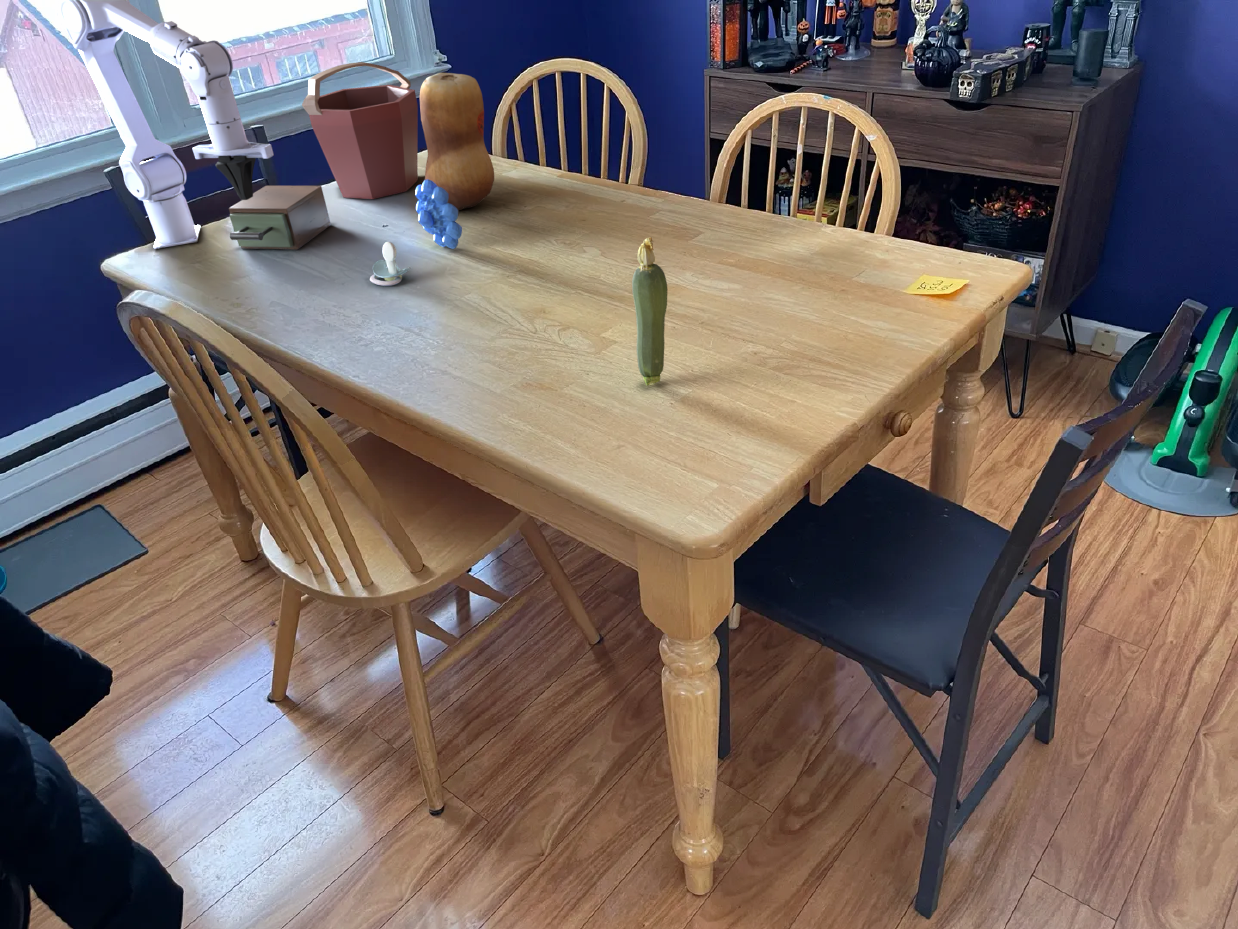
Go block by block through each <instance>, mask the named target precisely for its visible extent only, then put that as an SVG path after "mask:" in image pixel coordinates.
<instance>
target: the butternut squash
mask: <svg viewBox="0 0 1238 929" xmlns="http://www.w3.org/2000/svg"><path fill="white" fill-rule="evenodd" d="M419 108H420V122H421V125H422V129H423V130H422V131H423V134H424V135H423V136H424V141H425V144H426V145H425V146H426V150H427V156H426V163H425V169H424V170H425V171H424V180H427V179H428V180H431V181H433V182H434V183H435V184H436V185H437V186H438V187H441V188H443V189H444V190H446V191H447V193H448V197H449V198H448V202H447V203H449V204H452V205H453V206H455V207H456V208H457V209H458V211H461V210H463V209H471V208H473V207H476V206H478V205H479V204H480V203H481V202H482V201H483V200H484V199H486V198H487V197H488V196H489V195H490V194H491V192H492V189H493V186H494V183H495V169H494V165H493V162H492V159H491V157H490V154H489V151H487V147H486V144H485V139H484V135H485V134H484V132H485V130H484V129H485V108H484V99H483V93H482V90H481V88H480V85H479V83H478V81H477V79H476V78H475V77H472V76H471V75H468V74H464V73H453V72H437V73H436V74H433V75H430V76H427V77H426V78H425V79H424V80H423V82H422V84H421V86H420V90H419Z"/></svg>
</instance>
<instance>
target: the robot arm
mask: <svg viewBox="0 0 1238 929" xmlns="http://www.w3.org/2000/svg"><path fill="white" fill-rule="evenodd" d="M57 16H58V18H59V20H60V22H61V25H62V26H63V28H64V30H65V32H66V34H67V36H68V38H69V41H70V42H71V44H72V47H73V48H74V49H75V50H76V51H78V52H79V54H80V57H81V58H82V61H83V62H84V65H85V66H86V68H87V70H88V73H89V74H90V76H91V79H92V80H93V83H94V84H95V87H96V88H97V90H98V94H99V95H100V97H101V99H102V101H103V103H104V105H105V107H106V109H107V111H108V113H109V115H110V117H111V119H112V122H113V123H114V125H115V127H116V129H117V131H118V133H119V136H120V138H121V140H122V142H123V143H124V146H125V149H124V151H123V153H122V155H121V157H120V159H119V161H118V165H119V167H120V169H121V171H122V175H123V180H124V184H125V187H126V188H127V189H128V192H130V194H132V195H133V196H134V197H135V198H136V199H137V200H139V201H142V202H143V206H144V209H145V211H146V214H147V216H148V219H149V222H150V225H151V227H152V230H153V232H154V235H155V241H154V244H153V249H155V250H157V249H163V248H168V247H169V248H170V247H175V246H181V245H186V244H193V243H197V242H198V241H199V240H198V239H199V235H200V231H201V228H202V227H201V225H200V224H197V225H195V223H194V220H193V217H192V213H191V211H190V210H191V209H190V208H189V205H188V202H187V199H186V197H185V196H184V194H183V192H184V191H185V189H186V188H185V186H184V185H185V184H186V182H187V171H186V168H185V166H184V164H183V163H182V162H181V160H180V159H179V158H178V157H177V155H176V154H175V152H174V150H173V148H172V146H171V145H169V144H167V143H164V142H163V141H160V140H158V139H156V137H155V136H154V134H153V132H152V130H151V127H150V126H149V123H148V120H147V118H146V117H145V114H144V113H143V110H142V109H141V106H140V104H139V101H138V100H137V97H136V96H135V94H134V92H133V89H132V87H131V85H130V84H129V81H128V80H127V77H126V74H125V73H124V70H123V69H122V66H121V64H120V62H119V59H118V58H117V56H116V54H115V51H114V50H115V46H116V42H118V40H119V41H120V38H121V37H122V36H123V34H124V33H125V32H128V34H131V35H133V36H135V37H137V38H139V39H141V40H142V41H145V42H148V44H150V48H151V50H152V52H153V53H154V54H155V55H157V56H158V57H160V58H162V59H164V60H165V61H167V62H169V64H172V65H173V66H176V67H177V68H179V69H180V72H181V73H182V75H183V76H184V78H185V79H186V80H187V82H188V83H189V85H190V87H191V91H192V93H194V95H195V96H197V99H198V102H199V105H200V108H201V112H202V115H203V118H204V121H205V124H206V128H207V130H208V134H209V137H210V140H211V143H210V144H209V143H208V144H198V145H196V146H194V147H192V152H193V156H194V158H195V160H203V159H218V160H217V162H216V163H215V167H216V169H217V170H218V171H219V172H220V173H221V174H222V175H223V176H224V177H225V178H226V179H227V181H228V182H229V183H230V185H231V187H233V189H234V191H235V193H236V194H237V196H238V197H239V199H240V201H242V200H248V199H250V198H251V197H253V193H254V191H253V177H254V176H253V174H254V168H255V163H256V161H257V158H258V159H259V158H262V159H263V160H264V159H267V160H268V159H270V158H272V157H273V156H275V155H274V151H273V147H272V144H270V143H259V142H251V141H249V140H248V138H247V135H246V131H245V127H244V125H243V121H242V117H241V114H240V111H239V108H238V104H237V100H236V97H235V94H234V90H233V87H232V84H231V79H230V76H231V75H232V73H233V70H234V63H233V59H232V56H231V54H230V53H229V51H228V50H227V48H226V47H225V46H224V45H223V44H221V43H220V42H219V41H218V40H209V41H206V40H204V41H203V40H201V39H200V38H199V37H198V36H196V35H192V34H190V32H187V31H185V30H183V29H182V28H180V27H179V26H178V24H177V22H175V21H172V20H171V21H163V22H160V23H159V22H157V21H155V20H154V19H153V18H151V17H150V16H149V15H147V14H146V13H144V12H143V11H141V10H140V9H139V8H137V7H135V6H134V5H133V4H131V1H130V0H59V1H58V10H57ZM152 157H153V158H152ZM149 158H151V159H149ZM146 159H149V160H146ZM144 160H146V161H144Z"/></svg>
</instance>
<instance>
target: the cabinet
mask: <svg viewBox="0 0 1238 929" xmlns="http://www.w3.org/2000/svg"><path fill="white" fill-rule="evenodd" d="M323 191H324V190H323V187H322V185H265V186H263V187H262V188H260V189H258V190H256V191H254V192H253V197H251V198H250V199H248V200H240V201H238V202H237V203H235V204H233V205H232V206H230V207H229V208H228V211H229V215H231V214H232V213H241V212H249V213H284V214H285V216H286V219H287V223H288V227H289V230H290V234H291V237H292V241H293V244H294V245H293V246H291V247H252V246H240V249H247V250H249V249H250V250H251V249H254V250H255V249H257V250H299V249H301V248H302V247H303V246H305V245H306V244H307V243H309V242H310V241H311V240H313V239H314V238H315V237H317V236H318V235H319V234H321V233H322V232H323V231H325V230H326V229H328V228H329V227H330V226H331V225H332V223H331V219H330V215H329V210H328V206H327V202H326V199H325V196H324V192H323Z"/></svg>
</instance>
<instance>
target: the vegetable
mask: <svg viewBox="0 0 1238 929" xmlns="http://www.w3.org/2000/svg"><path fill="white" fill-rule="evenodd" d="M652 242H653V243H654V241H653V238H652V237H649V236H648V237H646V238H645V239H644V240H643V243H641V244H640V246H639V248H638V250H637V254H636V255H637V256H636V259H637V261H638V264H640V265H639V266H638V267H637V268H635V270H634V273H633V275H632V279H631V289H632V298H633V304H634V310H635V319H636V320H635V321H636V359H637V367H638V372H639V373H640V375H641V376H642V378H643V381H644V383H645V385H646V386H647V387H648V386H649V385H651V384H656V383H658V382H661V374H662V373H663V371H664V366H665V342H666V341H665V322H666V320H665V319H666V313H667V307H668V291H669V290H668V282H667V277H666V275H665V272H664V270H663V268H662V267H661V266H659V264H657V263H655V262H656V255H655V252H654V251H655V249H654V245H653V243H652Z"/></svg>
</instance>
